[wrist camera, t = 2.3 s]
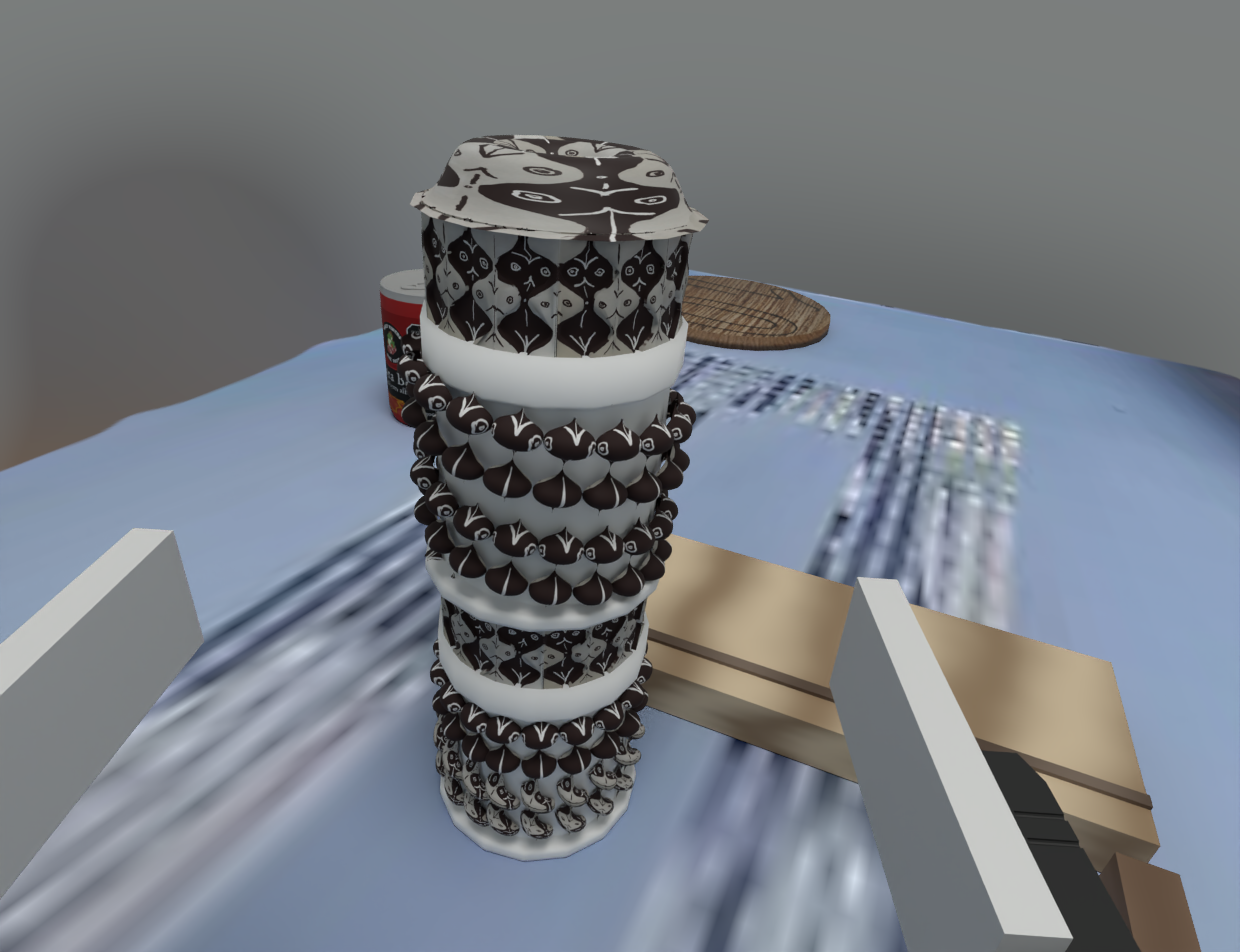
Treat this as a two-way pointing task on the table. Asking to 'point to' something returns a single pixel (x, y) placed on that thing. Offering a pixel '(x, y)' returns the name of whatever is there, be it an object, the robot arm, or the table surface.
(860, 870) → the table surface
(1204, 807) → the table surface
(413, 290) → the canned food
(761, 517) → the table surface
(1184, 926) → the brown flat block
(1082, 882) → the robot arm
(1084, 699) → the oak board
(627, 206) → the decorative candle
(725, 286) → the trivet
